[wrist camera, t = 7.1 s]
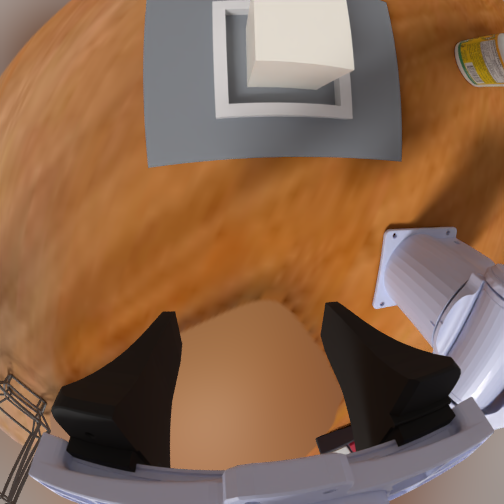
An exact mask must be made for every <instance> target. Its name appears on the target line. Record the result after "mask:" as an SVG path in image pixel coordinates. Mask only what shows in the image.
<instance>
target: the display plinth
mask: <svg viewBox="0 0 504 504" xmlns="http://www.w3.org/2000/svg"><path fill="white" fill-rule="evenodd" d="M346 2H347V8H348V15H349V22H350V29H351V38H352V47H353V58H354V70H353V71H351V72H349V73H347V74H345V75H343V76H341V77H339V78H338V79H336V80H334V81H332V82H330V83H328V84H326V85H324V86H322V87H321V88H319V89H317V90H312V89H299V88H279V87H247V57H246V24H247V18H248V12H249V6H250V0H147V3H146V15H145V31H144V61H143V84H144V116H145V133H146V147H147V158H148V168H150V167H157V166H165V165H173V164H181V163H190V162H201V161H212V160H225V159H240V158H261V157H343V158H363V159H378V160H390V161H401V159H402V120H401V98H400V85H399V74H398V65H397V57H396V50H395V44H394V38H393V32H392V27H391V22H390V17H389V12H388V8H387V4H386V2H383V1H380V0H346Z"/></svg>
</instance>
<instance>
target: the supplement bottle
mask: <svg viewBox="0 0 504 504" xmlns="http://www.w3.org/2000/svg"><path fill="white" fill-rule="evenodd" d="M455 59H456V62H457V65H458V67H459V69H460V71H461V73H462V75H463V76H464V78H465V79H466V80H467V81H468V82H469V83H470V84H472V85H473V86H476V87H504V33H501V34H494V35H488V36H483V37H478V38H473V39H468V40H464V41H461V42H459V43H457V45H456V47H455Z"/></svg>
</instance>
